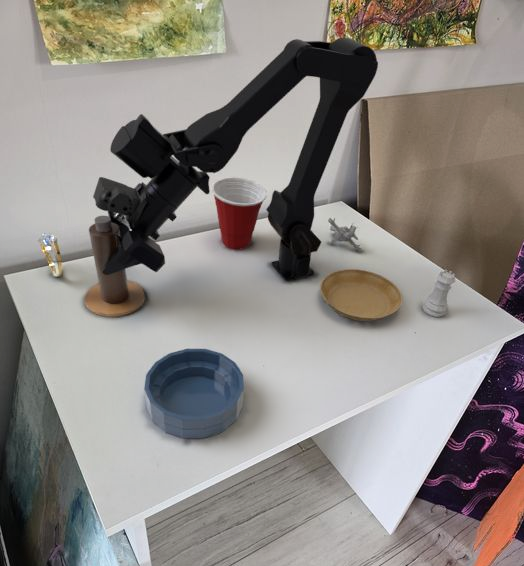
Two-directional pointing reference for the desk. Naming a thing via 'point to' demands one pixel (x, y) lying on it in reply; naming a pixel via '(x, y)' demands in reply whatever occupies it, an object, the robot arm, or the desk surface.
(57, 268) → the ring
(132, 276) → the desk surface
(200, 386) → the bowl
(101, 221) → the bottle
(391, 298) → the plant saucer
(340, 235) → the gray branched figurine
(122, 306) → the cork coaster
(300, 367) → the desk surface
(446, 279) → the rook chess piece
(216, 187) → the plastic cup
